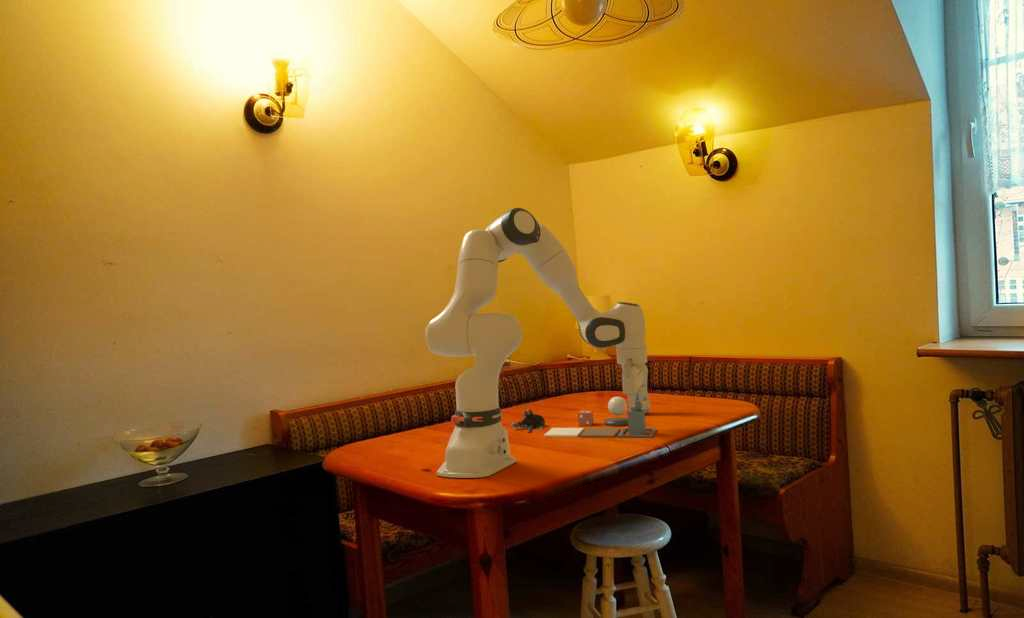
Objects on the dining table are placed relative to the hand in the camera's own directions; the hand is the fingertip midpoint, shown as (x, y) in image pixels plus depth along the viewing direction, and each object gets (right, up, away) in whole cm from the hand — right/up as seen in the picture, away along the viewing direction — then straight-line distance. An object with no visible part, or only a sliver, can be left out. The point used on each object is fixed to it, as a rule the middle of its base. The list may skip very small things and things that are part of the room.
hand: (634, 403), depth 210 cm
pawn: (+1, -9, -1) cm, 9 cm away
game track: (-10, -9, +3) cm, 14 cm away
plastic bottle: (+7, -8, +29) cm, 30 cm away
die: (-12, -9, +17) cm, 23 cm away
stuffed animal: (-31, -11, +18) cm, 37 cm away
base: (-2, -8, +16) cm, 18 cm away
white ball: (-3, -6, +16) cm, 17 cm away
